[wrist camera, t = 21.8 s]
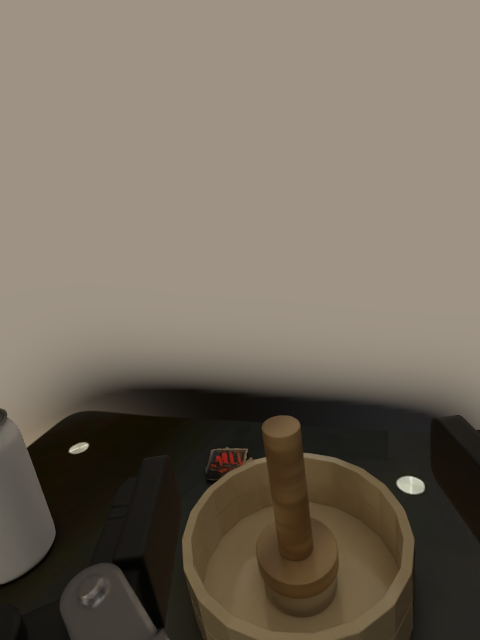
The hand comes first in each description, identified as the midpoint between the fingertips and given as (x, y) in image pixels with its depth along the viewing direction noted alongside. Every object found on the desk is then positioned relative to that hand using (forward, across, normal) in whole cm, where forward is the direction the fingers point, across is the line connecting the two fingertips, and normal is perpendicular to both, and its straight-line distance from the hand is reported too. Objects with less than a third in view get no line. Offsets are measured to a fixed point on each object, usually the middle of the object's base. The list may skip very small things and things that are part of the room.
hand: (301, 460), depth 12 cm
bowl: (+10, 0, +18) cm, 20 cm away
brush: (+9, 0, +17) cm, 19 cm away
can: (+15, +23, +18) cm, 33 cm away
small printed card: (+23, +5, +18) cm, 29 cm away
